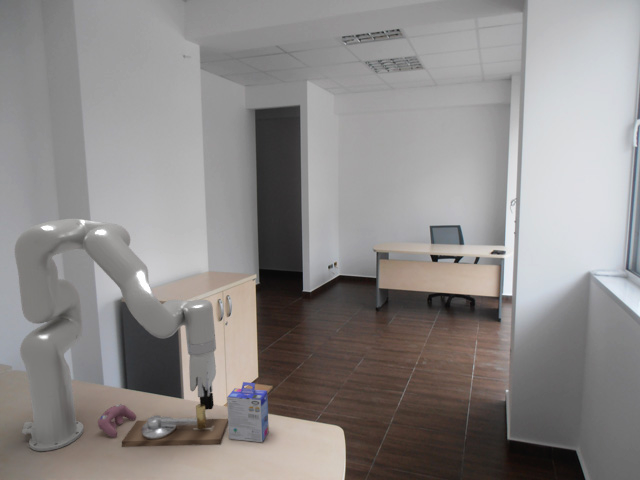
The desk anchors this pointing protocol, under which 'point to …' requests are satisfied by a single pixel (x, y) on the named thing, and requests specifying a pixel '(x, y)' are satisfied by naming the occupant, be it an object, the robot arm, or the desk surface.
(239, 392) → the ink cartridge box
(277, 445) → the desk surface
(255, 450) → the desk surface
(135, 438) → the stand plate
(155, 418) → the silver lever with knob
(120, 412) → the video game controller
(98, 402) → the desk surface
